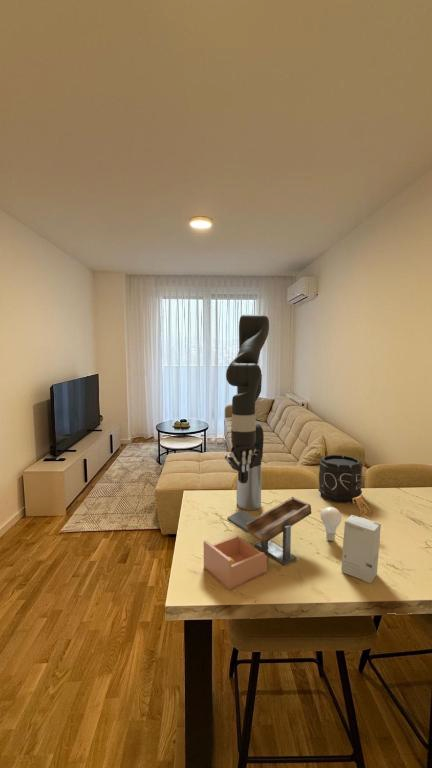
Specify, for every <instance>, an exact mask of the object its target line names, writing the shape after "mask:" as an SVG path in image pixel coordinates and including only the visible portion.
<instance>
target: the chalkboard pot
mask: <svg viewBox="0 0 432 768" xmlns="http://www.w3.org/2000/svg"><path fill="white" fill-rule="evenodd" d="M318 466H319V471H318V483H319V484H318V486H319V487H318V489H317V490H318V492H320V496H322V497H323V498H324V499H325V500H328V501H332V502H334V503H338V504H339V503H341V504H351V503H352V504H353V499H352V498H355V497H359V496H360V495H363V494H362V492H363V491H362V485H363V467H364V466H363V464H362V462H361V460H360V459H358V458H356V457H353V456H349V455H344V456H343V455H342V454H330V455H324V456H322V458H321V460H320V461H319V463H318ZM354 503H357V502H356V499H354Z"/></svg>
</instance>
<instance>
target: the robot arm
mask: <svg viewBox="0 0 432 768" xmlns="http://www.w3.org/2000/svg"><path fill="white" fill-rule="evenodd" d="M269 332H270V320H269V317H268V316H267V315H265V314H247V313H246V314H242V315H241V316H240V317H239V322H238V353H237V355H236V357H235V358H234V359H232V361H231V362H230V364H229V365H228V367H227V369H226V373H225V377H226V381H227V383H228V384H229V385H230V386H232V387H237V388H236V389H237V392H236V393H237V394H235V395H233V397H232V399H231V400H232V401H231V414H232V415H231V426H230V429H231V432H230V434H231V435H230V437H231V438H230V441H231V446H232V447H231V448H230V453H229V454H228V455H227V454H226V455H225V456H224V459H225V460H226V462H227V463H228V464H229V466H230V467H231V468H232V469H233V470H234V471H237V480H236V504H237V506H238V507H239V508H240V509H241V510H244V511H245V510H246V511H255V510H258V509H259V510H260V508H262V460H263V456H264V429H263V427H262V425H261V424H260V423H258V422H256V421H257V420H256V402H257V400H258V399H259V397H260V395H261V393H262V383H263V382H262V381H263V380H262V379H263V375H262V369H261V367H260V365H259V358H260V354H261V351H262V348H263V347H264V345H265V342H266V340H267V339H268V336H269Z"/></svg>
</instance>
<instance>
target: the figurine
mask: <svg viewBox="0 0 432 768" xmlns="http://www.w3.org/2000/svg"><path fill="white" fill-rule="evenodd" d="M363 498H364V495H363V494H361V495H360V496H359V497H355V498H352V499H353V502H352V504H355V503H356V504H357V507H358V509H360V510H359V515H360V517H361V518H365V519H368V520H370V521H372V520H371V519H370V518H369V517H368V516H367V515H366V513H367V511H368V510H369V513H371V514H372V510H371V508H370V507H369V506H368V505H367V503H366V502H364V500H363ZM354 499H356V502H354ZM365 507H366V508H365ZM367 509H368V510H367ZM363 511H364V512H363Z"/></svg>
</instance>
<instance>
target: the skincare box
mask: <svg viewBox="0 0 432 768" xmlns="http://www.w3.org/2000/svg"><path fill="white" fill-rule="evenodd" d="M370 520H371V519H370ZM370 520H368V519H365V518H361V516H357V515H354V514H351V515H350V516H348V518H347V519H346V520H344V528H343V529H344V530H343V531H344V532H343V541H342V542H343V543H342V544H343V545H342V555H341V557H342V558H341V567H340V569H341V573H344V574H347V575H349V576H352V577H354V578H357V579H359V580H362V581H364V582H366V583H367V584H371V583H372V582H373V581H374V579H375V578H376V576H377V575H378V567H379V554H380V553H379V551H380V539H381V529H382V528H381V527H382V524H381V523H379V522H376V521H374V520H371V521H370Z"/></svg>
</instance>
